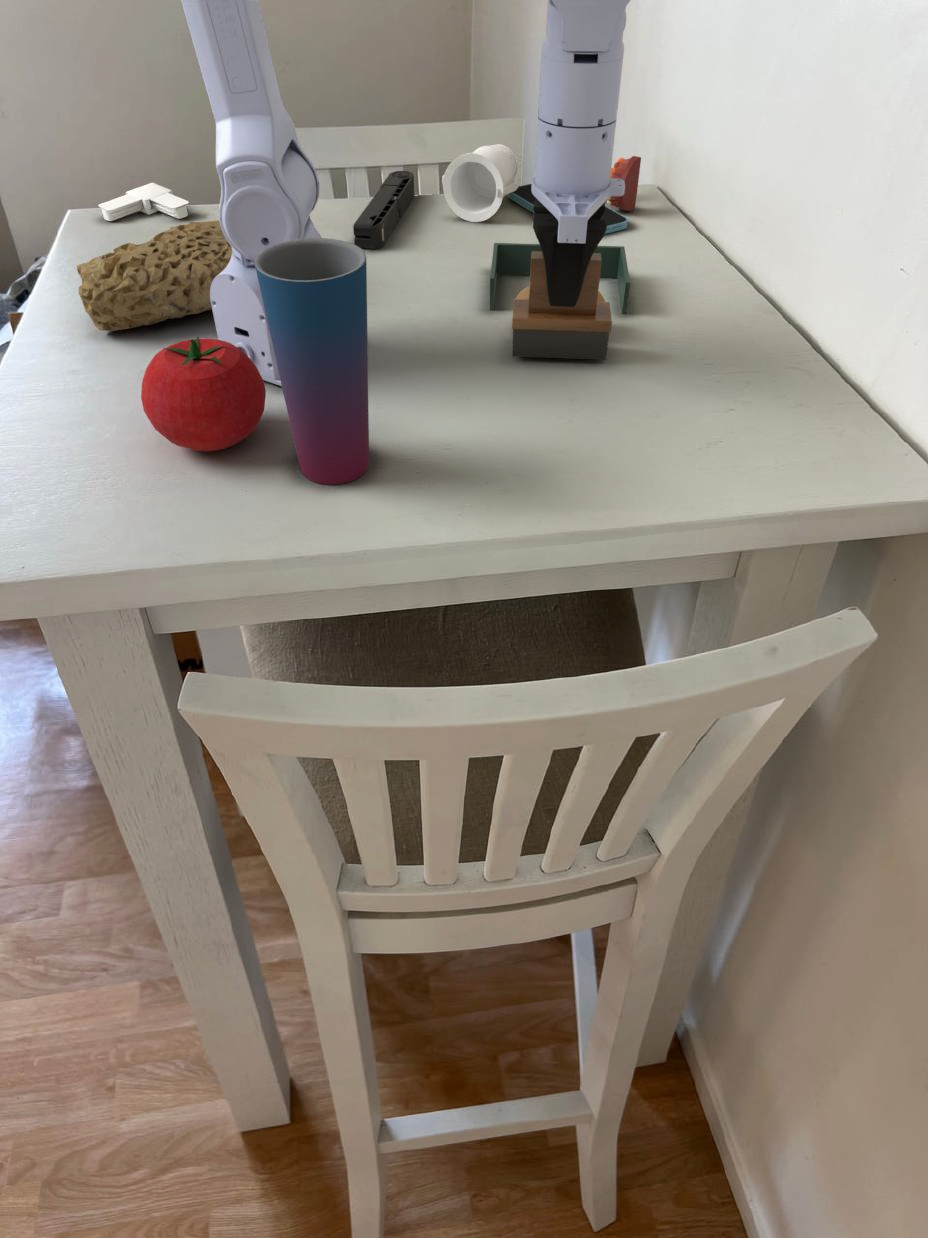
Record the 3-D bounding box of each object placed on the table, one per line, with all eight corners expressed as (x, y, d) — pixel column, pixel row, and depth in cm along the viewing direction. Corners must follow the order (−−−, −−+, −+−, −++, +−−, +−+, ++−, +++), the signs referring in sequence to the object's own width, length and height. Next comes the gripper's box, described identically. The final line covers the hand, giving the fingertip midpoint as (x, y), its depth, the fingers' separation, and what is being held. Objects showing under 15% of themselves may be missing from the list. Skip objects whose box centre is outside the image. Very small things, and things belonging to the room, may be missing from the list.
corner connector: (135, 222, 96) (139, 237, 97) (195, 199, 100) (198, 214, 102) (93, 203, 100) (97, 217, 101) (152, 182, 104) (155, 196, 105)
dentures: (574, 149, 102) (620, 167, 97) (602, 142, 103) (649, 159, 98) (571, 200, 106) (615, 220, 101) (599, 193, 107) (643, 211, 102)
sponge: (110, 364, 78) (320, 284, 81) (63, 276, 74) (288, 194, 76) (109, 327, 89) (295, 258, 91) (68, 248, 84) (265, 177, 86)
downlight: (503, 228, 99) (527, 202, 106) (510, 160, 94) (535, 138, 101) (436, 215, 101) (464, 191, 108) (439, 148, 96) (468, 127, 103)
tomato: (287, 453, 66) (271, 352, 60) (168, 482, 63) (139, 380, 58) (254, 398, 72) (237, 302, 66) (143, 423, 69) (115, 325, 63)
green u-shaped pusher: (626, 313, 83) (630, 282, 81) (489, 309, 84) (490, 278, 82) (618, 264, 91) (622, 234, 89) (494, 260, 92) (495, 231, 90)
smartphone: (578, 233, 96) (505, 188, 105) (577, 243, 96) (504, 198, 105) (632, 220, 98) (555, 178, 107) (631, 230, 99) (555, 187, 108)
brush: (607, 360, 75) (618, 266, 70) (510, 357, 76) (514, 263, 70) (605, 339, 78) (616, 247, 73) (512, 336, 79) (515, 245, 73)
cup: (268, 475, 64) (231, 267, 53) (322, 431, 68) (297, 230, 58) (348, 502, 61) (325, 289, 51) (398, 454, 66) (387, 249, 55)
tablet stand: (392, 168, 105) (416, 170, 105) (393, 192, 107) (417, 193, 107) (351, 224, 93) (378, 225, 92) (353, 249, 94) (380, 251, 94)
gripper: (639, 148, 59) (615, 340, 68) (626, 92, 70) (606, 265, 79) (533, 146, 59) (523, 337, 69) (536, 90, 70) (527, 263, 79)
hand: (562, 299), depth 74 cm, fingers closed on brush, 2 cm apart
